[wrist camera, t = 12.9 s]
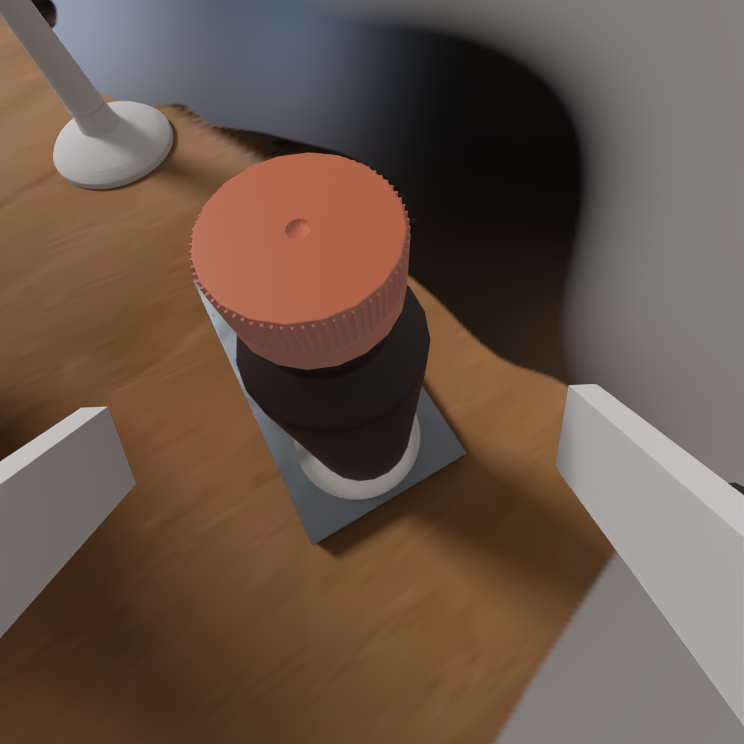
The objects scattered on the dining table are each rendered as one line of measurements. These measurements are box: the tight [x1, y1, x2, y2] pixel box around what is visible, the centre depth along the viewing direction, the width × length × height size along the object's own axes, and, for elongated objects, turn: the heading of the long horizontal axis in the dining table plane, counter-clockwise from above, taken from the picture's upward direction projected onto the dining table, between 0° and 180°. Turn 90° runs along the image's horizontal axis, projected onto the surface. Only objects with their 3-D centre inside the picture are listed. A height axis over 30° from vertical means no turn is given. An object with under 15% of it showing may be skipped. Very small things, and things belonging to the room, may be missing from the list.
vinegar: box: [189, 153, 430, 481], centre depth 17 cm, size 7×7×20 cm
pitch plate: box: [193, 279, 466, 545], centre depth 28 cm, size 24×12×6 cm, turn 29°
